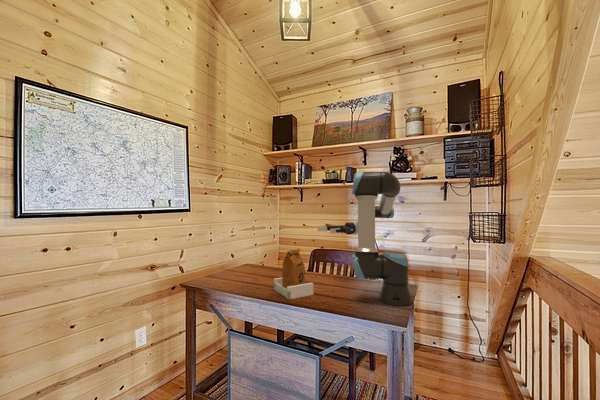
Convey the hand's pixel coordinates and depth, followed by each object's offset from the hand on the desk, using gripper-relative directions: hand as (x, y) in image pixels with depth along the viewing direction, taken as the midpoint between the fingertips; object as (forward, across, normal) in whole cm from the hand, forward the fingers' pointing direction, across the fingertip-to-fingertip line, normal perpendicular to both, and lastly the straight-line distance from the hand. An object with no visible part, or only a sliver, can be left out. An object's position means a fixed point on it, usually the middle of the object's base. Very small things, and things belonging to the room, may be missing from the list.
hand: (324, 230), depth 166 cm
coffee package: (+22, -4, -31) cm, 38 cm away
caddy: (+22, -4, -32) cm, 39 cm away
